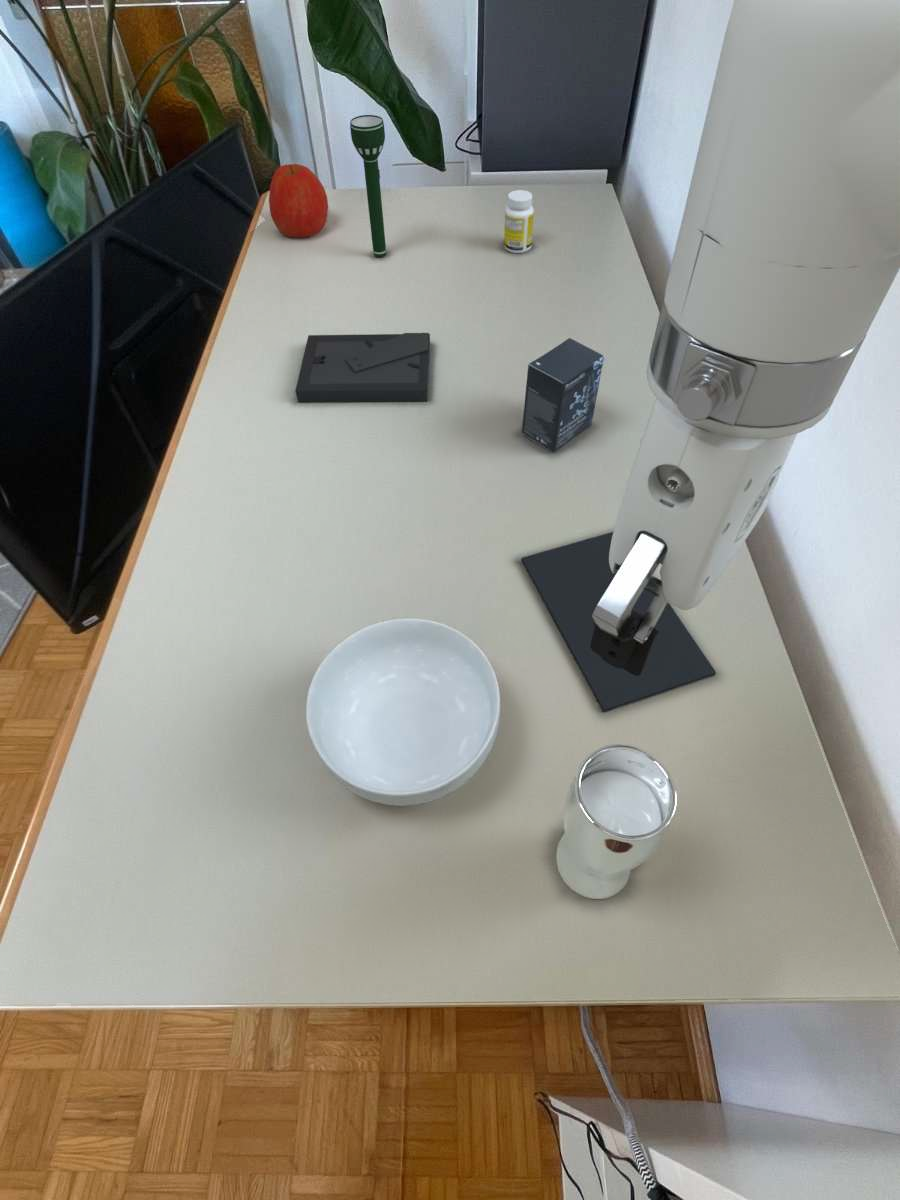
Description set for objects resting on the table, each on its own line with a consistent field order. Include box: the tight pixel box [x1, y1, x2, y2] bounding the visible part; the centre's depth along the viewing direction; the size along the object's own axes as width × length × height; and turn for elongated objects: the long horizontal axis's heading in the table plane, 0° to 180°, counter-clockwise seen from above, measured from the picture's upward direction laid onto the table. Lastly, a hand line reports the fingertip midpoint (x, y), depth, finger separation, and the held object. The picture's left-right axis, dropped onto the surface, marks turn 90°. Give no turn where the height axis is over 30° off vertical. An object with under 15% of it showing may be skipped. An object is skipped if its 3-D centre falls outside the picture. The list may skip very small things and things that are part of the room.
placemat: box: [521, 531, 717, 713], centre depth 72 cm, size 20×12×1 cm, turn 19°
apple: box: [268, 163, 329, 238], centre depth 122 cm, size 10×10×10 cm
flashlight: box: [349, 114, 387, 259], centre depth 112 cm, size 5×5×20 cm
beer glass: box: [555, 743, 678, 900], centre depth 51 cm, size 7×7×15 cm
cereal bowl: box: [305, 617, 501, 807], centre depth 62 cm, size 17×17×7 cm
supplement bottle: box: [503, 189, 535, 254], centre depth 117 cm, size 5×5×8 cm
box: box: [521, 337, 605, 454], centre depth 86 cm, size 8×6×11 cm
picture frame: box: [295, 332, 431, 403], centre depth 98 cm, size 13×2×18 cm
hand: (656, 605), depth 42 cm, fingers open, 9 cm apart
